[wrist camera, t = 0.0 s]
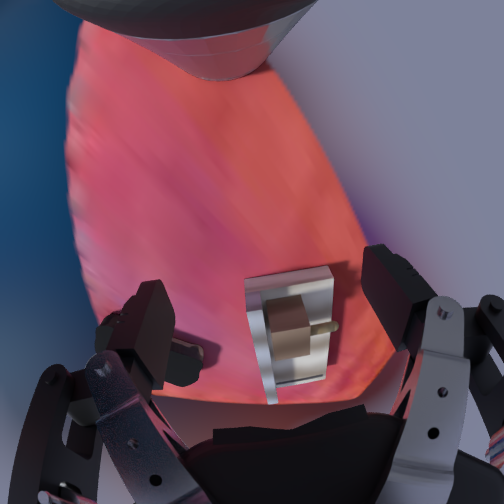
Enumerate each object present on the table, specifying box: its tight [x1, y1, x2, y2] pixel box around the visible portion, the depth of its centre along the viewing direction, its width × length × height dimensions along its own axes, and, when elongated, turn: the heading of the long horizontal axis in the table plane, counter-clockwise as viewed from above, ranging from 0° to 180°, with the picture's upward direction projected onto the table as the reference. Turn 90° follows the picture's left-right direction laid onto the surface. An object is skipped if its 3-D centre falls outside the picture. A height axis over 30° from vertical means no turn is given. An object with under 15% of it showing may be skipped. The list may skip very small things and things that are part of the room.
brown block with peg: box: [266, 294, 339, 361], centre depth 29 cm, size 5×8×5 cm, turn 98°
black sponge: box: [95, 314, 203, 387], centre depth 36 cm, size 16×8×4 cm, turn 60°
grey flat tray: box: [244, 265, 334, 404], centre depth 35 cm, size 22×10×6 cm, turn 8°
